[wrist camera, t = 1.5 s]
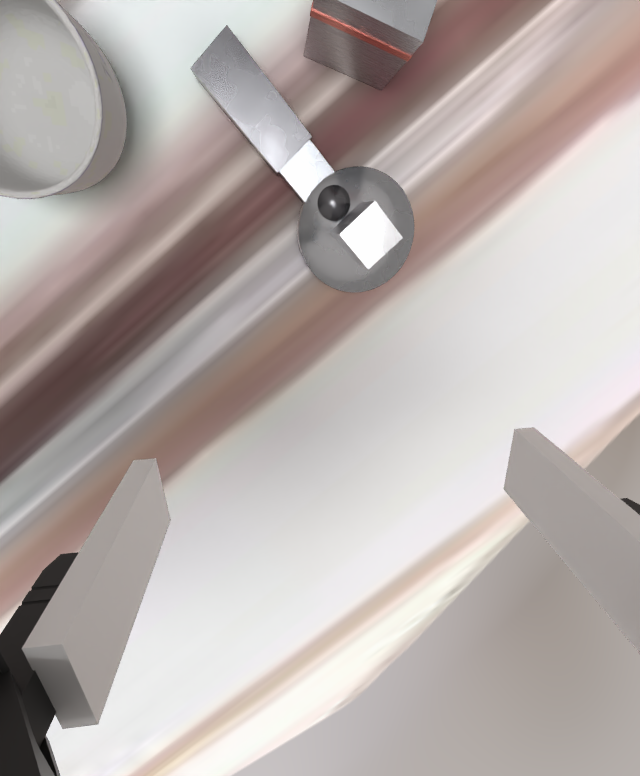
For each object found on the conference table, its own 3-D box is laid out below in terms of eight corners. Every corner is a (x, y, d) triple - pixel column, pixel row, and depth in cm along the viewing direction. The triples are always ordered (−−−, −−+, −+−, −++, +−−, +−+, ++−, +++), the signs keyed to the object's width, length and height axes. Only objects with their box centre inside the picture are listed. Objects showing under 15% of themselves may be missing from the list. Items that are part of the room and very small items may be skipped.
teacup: (162, 75, 28) (122, 25, 20) (120, 227, 31) (72, 231, 24) (-69, -54, 24) (-218, -171, 17) (-87, 134, 28) (-218, 105, 20)
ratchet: (169, 109, 28) (136, 76, 22) (259, 5, 27) (254, -68, 20) (345, 308, 35) (362, 331, 29) (425, 235, 34) (464, 241, 27)
